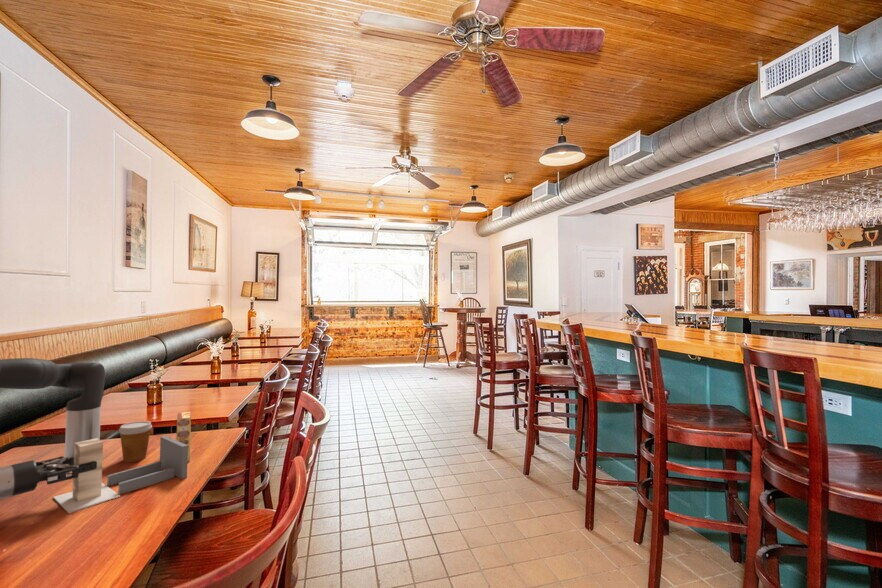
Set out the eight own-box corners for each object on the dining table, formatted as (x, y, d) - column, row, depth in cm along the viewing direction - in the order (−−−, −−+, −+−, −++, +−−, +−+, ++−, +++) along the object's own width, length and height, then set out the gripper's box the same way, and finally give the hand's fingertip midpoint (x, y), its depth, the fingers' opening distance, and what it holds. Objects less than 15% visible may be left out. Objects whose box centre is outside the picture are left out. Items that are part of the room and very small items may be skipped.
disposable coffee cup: (156, 457, 144) (157, 423, 144) (124, 466, 136) (125, 430, 136) (144, 452, 149) (145, 419, 149) (112, 460, 141) (113, 425, 141)
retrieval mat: (53, 498, 113) (53, 496, 113) (102, 484, 122) (102, 482, 122) (68, 513, 105) (68, 511, 105) (120, 497, 114) (120, 495, 114)
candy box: (190, 461, 141) (191, 417, 141) (175, 463, 139) (177, 418, 139) (189, 453, 148) (190, 411, 149) (175, 455, 146) (177, 412, 146)
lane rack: (103, 482, 123) (104, 449, 124) (164, 465, 137) (165, 435, 137) (123, 497, 114) (124, 461, 115) (186, 477, 128) (187, 445, 128)
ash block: (72, 497, 113) (74, 442, 114) (95, 490, 117) (97, 438, 118) (78, 502, 110) (80, 446, 111) (101, 495, 114) (103, 441, 115)
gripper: (16, 472, 97) (100, 453, 111) (3, 459, 105) (83, 442, 119) (14, 504, 97) (99, 480, 111) (1, 488, 105) (82, 468, 119)
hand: (91, 461), depth 115 cm, fingers open, 8 cm apart
